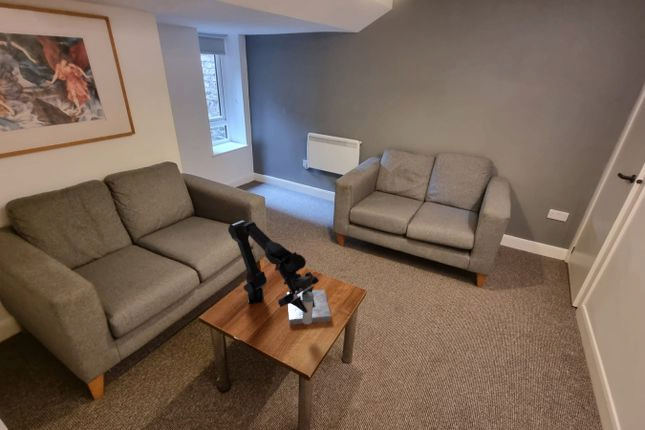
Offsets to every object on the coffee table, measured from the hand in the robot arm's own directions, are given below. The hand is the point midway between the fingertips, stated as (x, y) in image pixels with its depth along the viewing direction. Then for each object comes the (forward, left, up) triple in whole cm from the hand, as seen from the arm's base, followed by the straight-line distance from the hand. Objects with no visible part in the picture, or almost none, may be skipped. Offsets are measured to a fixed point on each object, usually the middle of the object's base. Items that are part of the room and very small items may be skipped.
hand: (310, 309), depth 124 cm
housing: (+1, +16, -13) cm, 21 cm away
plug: (-1, +1, -7) cm, 7 cm away
